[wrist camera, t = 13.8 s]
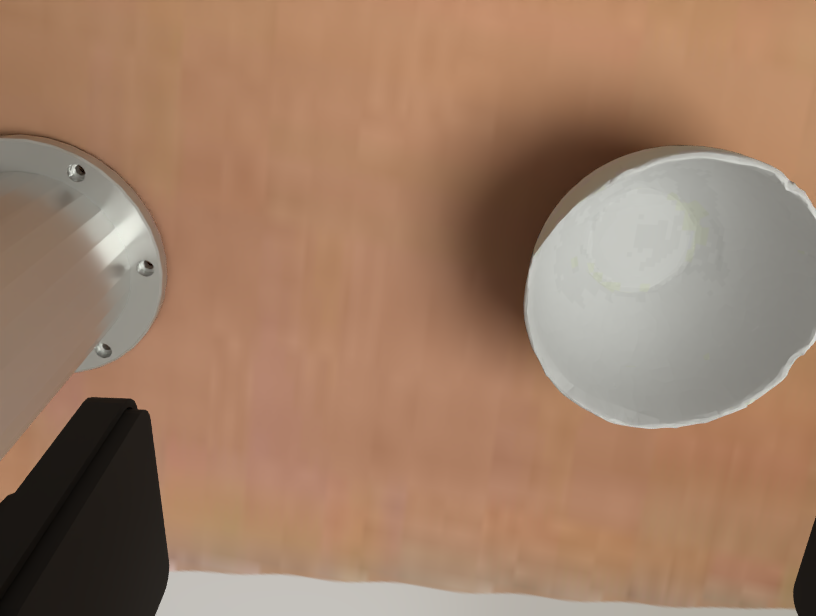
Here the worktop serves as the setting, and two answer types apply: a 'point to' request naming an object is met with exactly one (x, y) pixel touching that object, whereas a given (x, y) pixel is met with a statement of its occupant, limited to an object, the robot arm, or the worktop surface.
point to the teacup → (673, 286)
